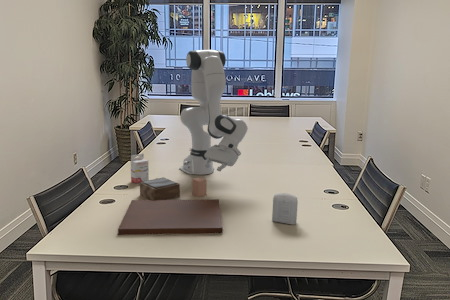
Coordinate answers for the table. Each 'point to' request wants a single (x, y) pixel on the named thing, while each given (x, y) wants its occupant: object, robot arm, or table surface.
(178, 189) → the walnut pedestal
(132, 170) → the ink cartridge box
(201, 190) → the terracotta block
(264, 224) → the table surface
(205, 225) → the brown wooden board
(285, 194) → the grey tombstone
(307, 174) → the table surface
